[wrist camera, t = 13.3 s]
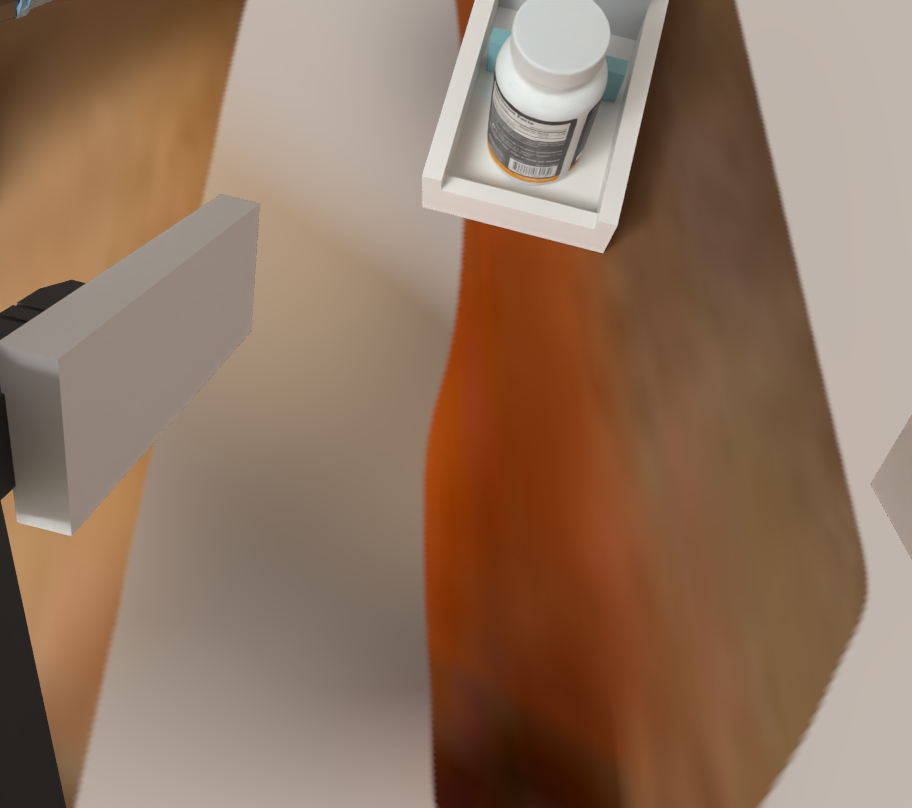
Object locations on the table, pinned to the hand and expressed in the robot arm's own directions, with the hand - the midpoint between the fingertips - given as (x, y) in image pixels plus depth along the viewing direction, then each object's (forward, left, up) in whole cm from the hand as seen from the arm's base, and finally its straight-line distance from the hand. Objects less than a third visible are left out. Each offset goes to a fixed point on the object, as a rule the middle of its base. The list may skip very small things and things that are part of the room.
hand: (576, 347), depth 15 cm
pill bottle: (-6, +21, -27) cm, 34 cm away
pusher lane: (-6, +24, -28) cm, 37 cm away
